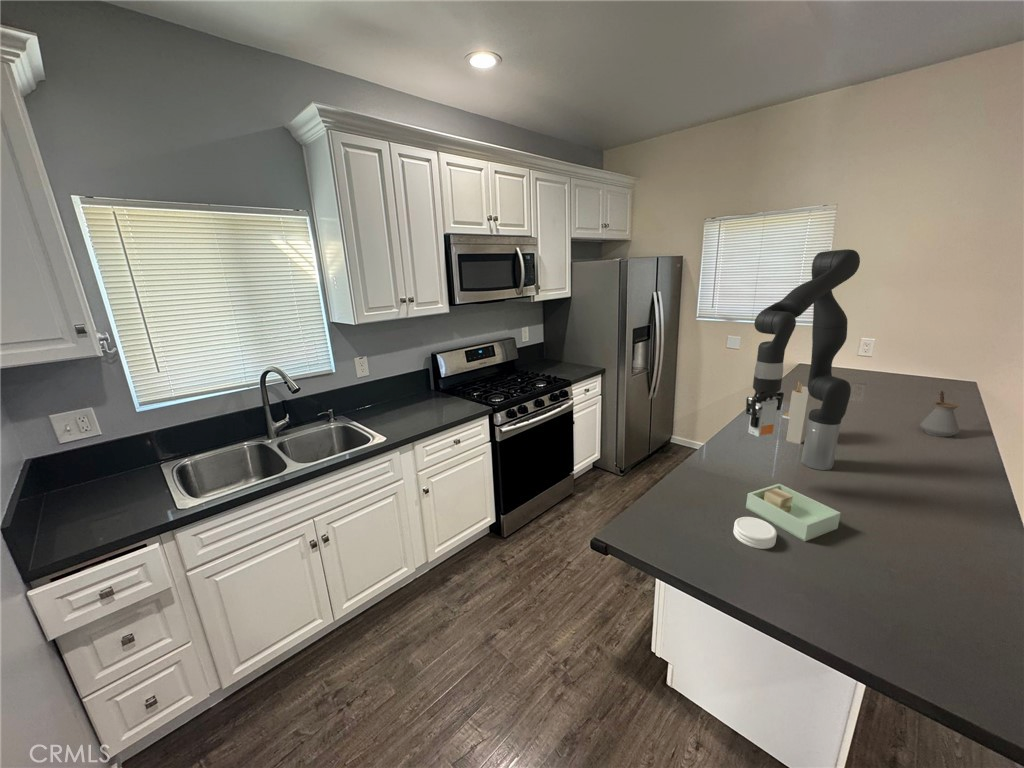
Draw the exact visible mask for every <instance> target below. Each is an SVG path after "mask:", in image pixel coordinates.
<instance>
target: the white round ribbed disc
mask: <svg viewBox="0 0 1024 768" xmlns="http://www.w3.org/2000/svg"><path fill="white" fill-rule="evenodd" d="M733 525H734V526H733V530H732V532H733V536H734V537H735V538H736V539H737V540H738V541H739V542H740V543H742V544H744V545H746V546H749V547H751V548H754V549H760V550H767V549H771V548H773V547H774V546H775V545H776V540H777V536H778V532H777V530H776V528H775V527H774V526H773V525H772V524H770V522H767V521H765V520H764V519H761V518H758V517H757V518H756V517H753V516H742V517H738V518H737V519H735V521H734V524H733Z"/></svg>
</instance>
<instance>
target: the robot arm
mask: <svg viewBox="0 0 1024 768" xmlns="http://www.w3.org/2000/svg"><path fill="white" fill-rule="evenodd" d="M860 263H861V258H860V254H859V252H857V250H855V249H849V248H848V249H838V250H827V251H821V252H818V253H817V254H816V255H815V256H814V257H813V261H812V264H811V279H810V280H808V281H806V282H803V283H802V284H800V285H798V286H796V287H795V288H793V289H792V290H790V292H789V293H787V295H785V296H784V297H783V298H782V299H781V300H779V301H777V302H775V303H772V304H771V305H770V306H769V305H768V307H766V308H764V309H763V310H761V311H760V312H759V313H758V314H757V315H756V317H755V320H754V324H753V325H754V329H755V330H756V331H757V332H759V333H760V334H761V333H762V334H766V335H774V337H773V339H772V340H770V341H769V340H768V341H762V342H760V343H759V344H758V348H757V356H756V362H755V367H754V374H753V382H752V389H754V391H755V392H754V395H753V396H747V397H746V399H745V400H746V401H745V402H746V403H745V404H746V406H745V413H746V415H748V416H751V422H750V421H749V423H750V425H751V426H752V427H754V428H758V425H759V416H760V412H761V410H762V408H763V406H761V407H757V406H756V403H759V404H760V403H761V402H762V401H764V402H769V400H778V404H777V410H776V413H777V412H778V411H780V410H781V409H782V404H783V399H784V396H785V392H781V389H782V381H783V373H784V360H785V359H784V358H785V353H786V348H787V345H788V344H789V341H790V338H791V337H792V334H793V333H794V331H795V329H796V325H797V319H796V318H798V317H801V315H803V314H804V312H806V310H808V309H809V308H810V307H811V306H813V308H812V309H813V313H812V314H813V316H812V317H813V318H812V331H811V332H812V334H811V335H812V336H811V339H812V340H811V341H812V343H811V344H812V345H811V361H810V369H809V375H808V379H807V380H808V381H807V387H808V392H809V394H810V396H811V397H813V398H815V399H816V400H818V401H820V402H822V403H821V406H820V408H814V410H811V411H810V412H809V417H808V423H807V429H806V435H805V441H803V448H802V454H801V460H800V461H801V464H803V466H805V467H808V468H811V469H814V470H819V471H829V470H832V468H833V467H834V464H835V458H836V453H837V449H838V443H839V442H838V440H839V434H840V429H841V423H842V419H843V418H844V417H845V415H846V412H847V410H848V405H849V401H850V398H851V391H852V388H851V384H850V382H849V381H848V380H845V379H843V378H841V377H838V376H837V377H836V376H833V375H832V369H833V367H832V366H833V361H834V358H835V357H836V355H837V354H838V352H839V351H840V350H842V348H843V346H844V344H845V343H846V341H847V336H848V317H847V315H846V313H845V311H844V310H843V308H842V306H841V305H840V304H839V303H838V301H837V300H836V299H835V296H834V294H833V290H834V289H836V288H837V287H839V286H840V285H841V284H843V283H845V282H846V281H848V280H849V279H850V278H852V277H853V276H854V275H855V274H856V273H857V272H858V269H859V267H860ZM751 409H752V410H751ZM756 409H758V411H757V413H756Z"/></svg>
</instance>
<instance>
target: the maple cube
mask: <svg viewBox="0 0 1024 768" xmlns="http://www.w3.org/2000/svg"><path fill="white" fill-rule="evenodd" d="M792 499H793V496H791V495H789V494H787V493H785V492H783V491H781V490H779V489H777V488H776V489H773V490H770V491H766V492H765V495H764V501H766V502H768V503H770V504H772V505H774V506H775V507H777V508H779V509H781V510H783V511H785V512H790V511H791V505H792Z"/></svg>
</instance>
